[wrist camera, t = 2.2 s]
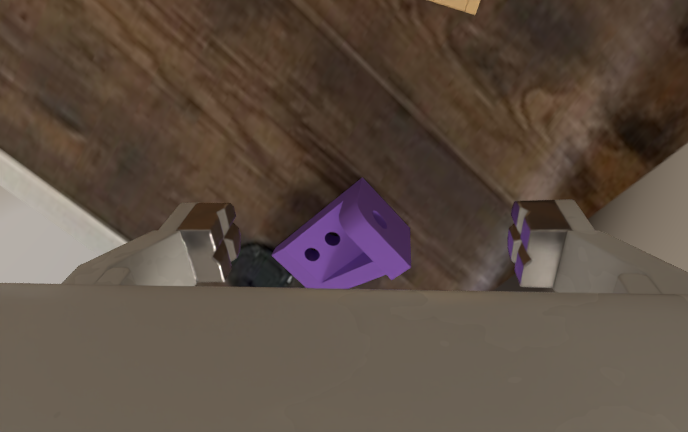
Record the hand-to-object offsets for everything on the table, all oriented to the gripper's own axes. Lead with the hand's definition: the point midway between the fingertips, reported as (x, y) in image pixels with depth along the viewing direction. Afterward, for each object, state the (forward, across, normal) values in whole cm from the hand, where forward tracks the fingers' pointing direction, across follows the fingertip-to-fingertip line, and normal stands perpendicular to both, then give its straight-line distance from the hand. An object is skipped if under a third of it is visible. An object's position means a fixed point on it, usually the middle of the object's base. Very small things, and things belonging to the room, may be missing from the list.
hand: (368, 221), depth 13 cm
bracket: (+25, +5, +18) cm, 31 cm away
